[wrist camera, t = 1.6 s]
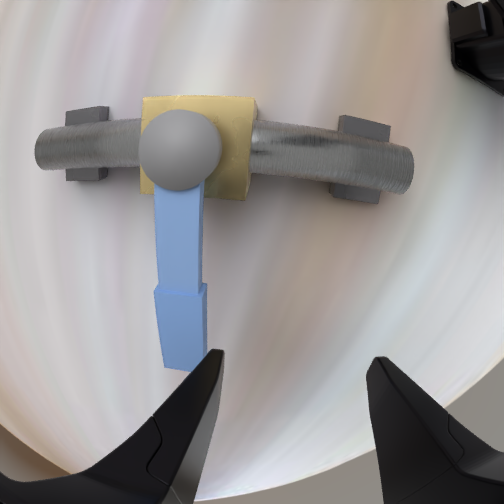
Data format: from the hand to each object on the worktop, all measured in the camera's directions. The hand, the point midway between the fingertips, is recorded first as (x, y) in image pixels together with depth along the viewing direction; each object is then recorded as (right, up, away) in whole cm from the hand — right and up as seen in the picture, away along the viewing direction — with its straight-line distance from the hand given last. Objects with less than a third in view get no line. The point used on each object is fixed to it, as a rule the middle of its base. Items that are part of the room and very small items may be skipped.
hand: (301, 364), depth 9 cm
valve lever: (-5, +4, +4) cm, 7 cm away
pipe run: (-4, +10, +8) cm, 13 cm away
